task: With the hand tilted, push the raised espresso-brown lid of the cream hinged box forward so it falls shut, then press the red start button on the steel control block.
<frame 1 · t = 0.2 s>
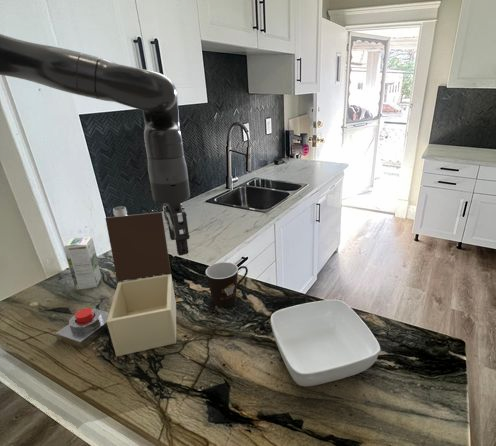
hand: (179, 246, 72), 22 cm above the counter, tool pointing down, fingers open, 8 cm apart
control block: (89, 330, 77), on the counter
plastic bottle: (131, 263, 107), on the counter
cream hinged box: (149, 327, 79), on the counter
syrup box: (90, 284, 96), on the counter
bowl: (321, 356, 71), on the counter
coffee mug: (230, 300, 90), on the counter
start button: (84, 316, 76), point 4 cm above the counter, slide at 0.1 cm
lid: (139, 246, 80), point 18 cm above the counter, hinge at 100.0°
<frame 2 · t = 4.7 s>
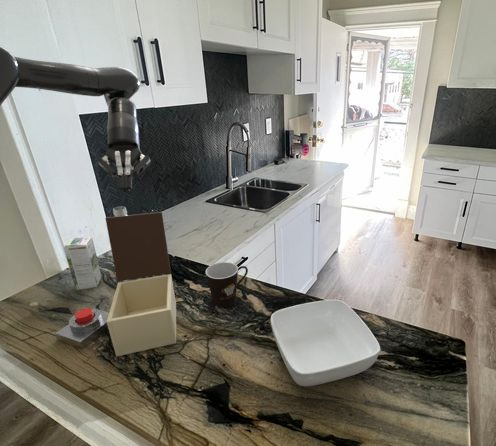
hand: (125, 190, 80), 31 cm above the counter, tool tilted 45°, fingers closed
nothing on the counter moved.
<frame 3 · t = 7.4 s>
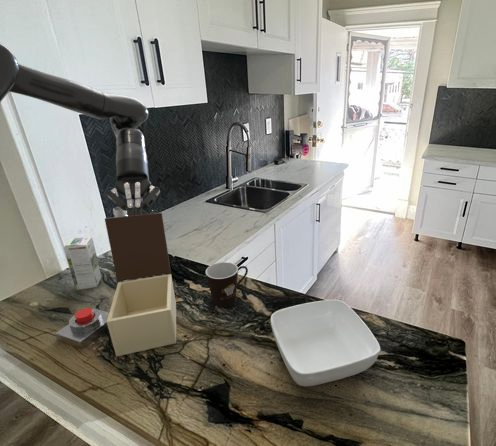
hand: (135, 223, 79), 24 cm above the counter, tool tilted 45°, fingers closed
lid: (139, 246, 79), point 18 cm above the counter, hinge at 97.3°, touching gripper
everything else where it was.
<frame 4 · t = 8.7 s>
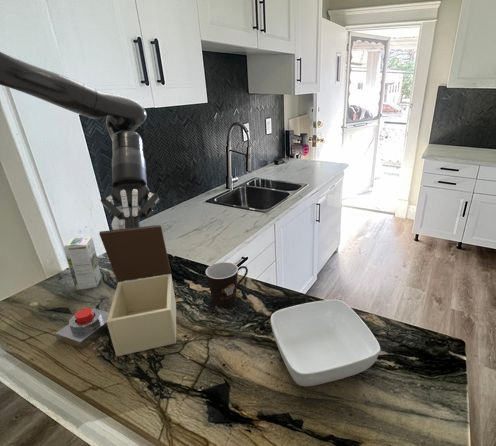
hand: (133, 233, 73), 24 cm above the counter, tool tilted 45°, fingers closed
lid: (138, 254, 76), point 18 cm above the counter, hinge at 72.4°
everything else where it was.
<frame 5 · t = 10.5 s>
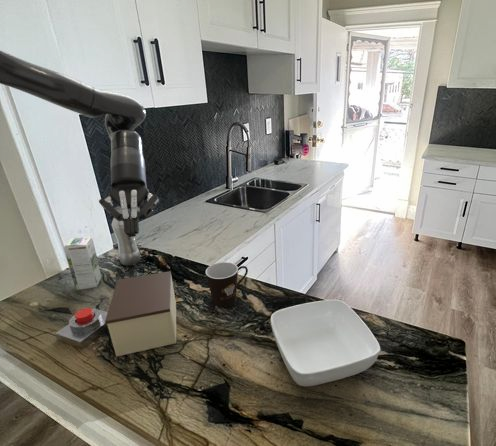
hand: (132, 235, 71), 24 cm above the counter, tool tilted 45°, fingers closed
lid: (142, 294, 74), point 10 cm above the counter, hinge at -0.1°
everything else where it was.
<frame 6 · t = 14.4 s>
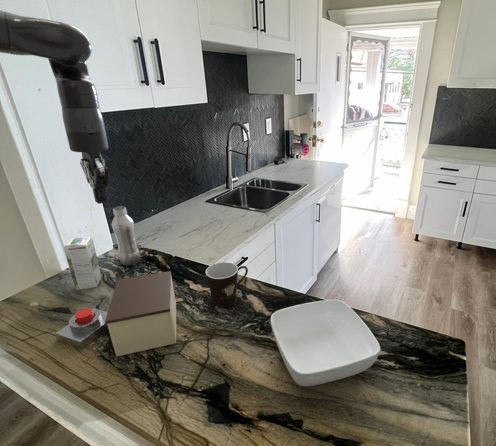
hand: (101, 202, 77), 29 cm above the counter, tool pointing down, fingers closed
nothing on the counter moved.
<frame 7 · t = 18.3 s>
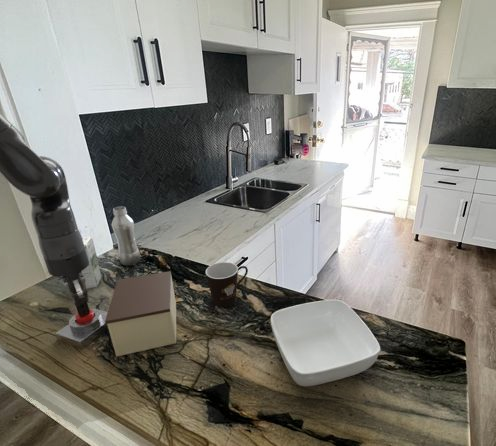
hand: (84, 313, 75), 5 cm above the counter, tool pointing down, fingers closed
start button: (84, 316, 76), point 4 cm above the counter, slide at -0.1 cm, touching gripper
everything else where it was.
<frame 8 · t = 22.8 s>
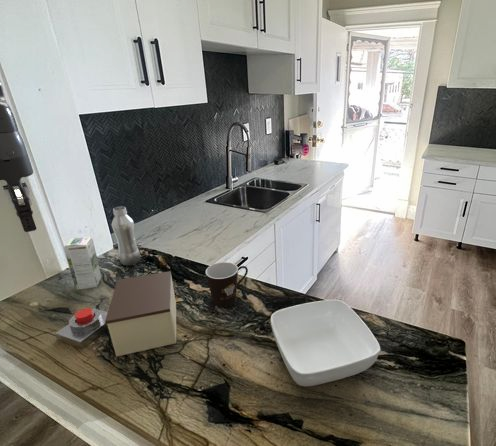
hand: (30, 230, 72), 25 cm above the counter, tool pointing down, fingers closed
start button: (84, 316, 76), point 4 cm above the counter, slide at 0.1 cm
everything else where it was.
at the end: lid at +0° (first picture: +100°); start button pushed in 1.2 cm at the most during the clip, back to where it started at the end; start button slide at 0.1 cm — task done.
